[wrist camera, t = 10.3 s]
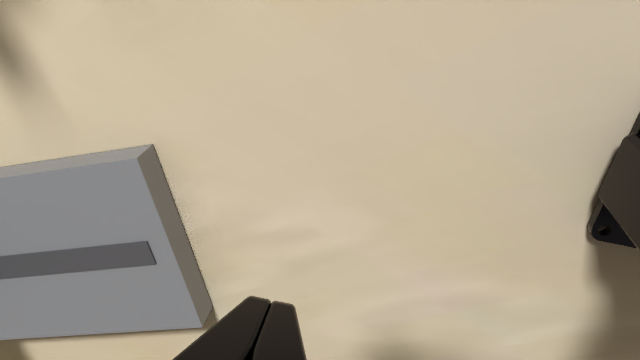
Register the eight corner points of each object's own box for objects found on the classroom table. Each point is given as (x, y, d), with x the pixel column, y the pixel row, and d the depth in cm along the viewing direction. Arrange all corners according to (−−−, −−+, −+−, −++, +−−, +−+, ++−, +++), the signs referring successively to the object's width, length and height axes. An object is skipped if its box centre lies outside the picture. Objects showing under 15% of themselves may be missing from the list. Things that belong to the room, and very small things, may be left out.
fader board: (152, 144, 21) (135, 159, 20) (212, 306, 25) (201, 328, 24) (-134, 187, 25) (-166, 202, 23) (-44, 325, 29) (-67, 345, 27)
